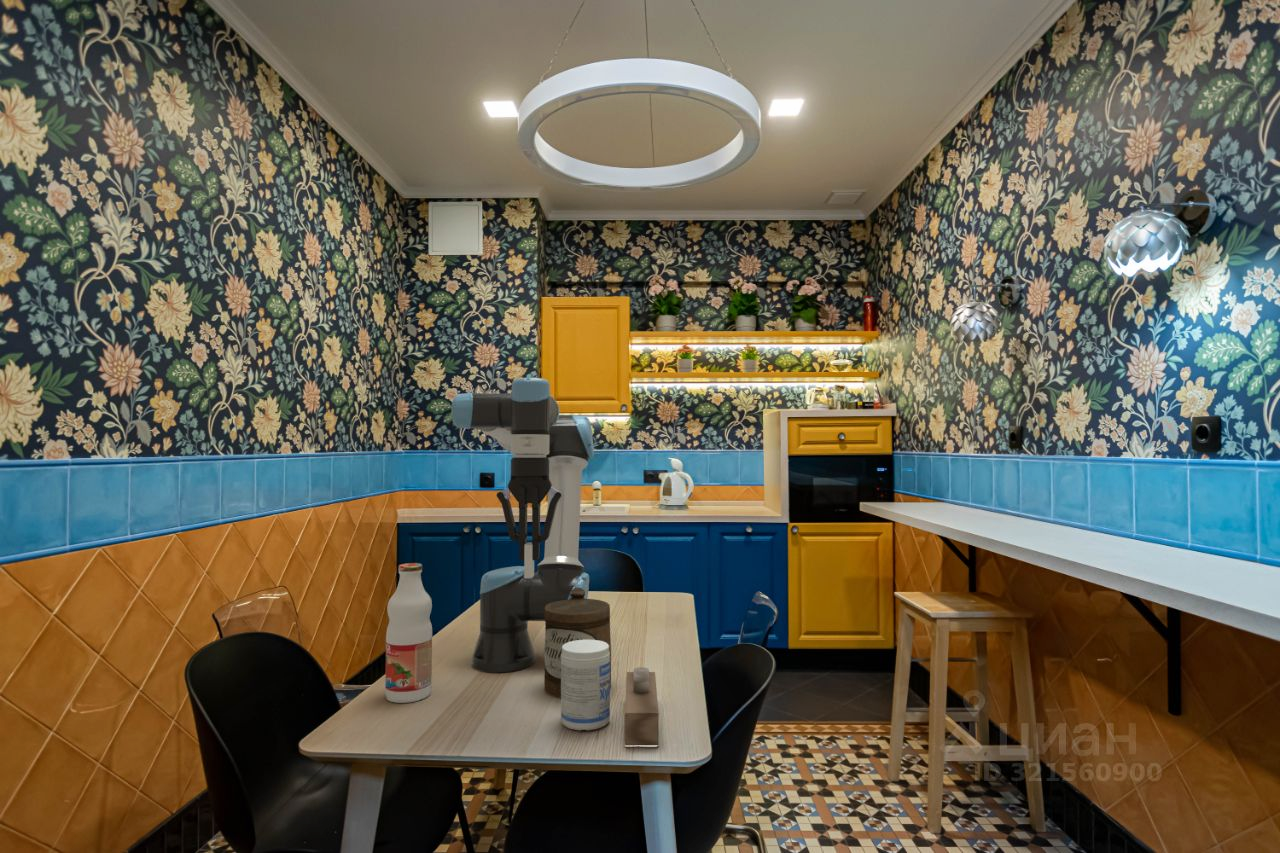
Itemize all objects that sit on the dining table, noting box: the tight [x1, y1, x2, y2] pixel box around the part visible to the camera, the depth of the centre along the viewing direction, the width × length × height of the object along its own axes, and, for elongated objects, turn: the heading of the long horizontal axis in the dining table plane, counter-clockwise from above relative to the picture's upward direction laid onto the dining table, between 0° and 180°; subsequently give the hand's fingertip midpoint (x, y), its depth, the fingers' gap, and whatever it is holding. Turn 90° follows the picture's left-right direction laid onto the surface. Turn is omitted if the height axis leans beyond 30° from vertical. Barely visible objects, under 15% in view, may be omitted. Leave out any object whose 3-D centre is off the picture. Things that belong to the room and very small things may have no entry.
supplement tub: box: [560, 640, 611, 731], centre depth 127 cm, size 10×10×15 cm
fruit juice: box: [384, 562, 433, 704], centre depth 142 cm, size 9×9×28 cm
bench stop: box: [624, 666, 660, 746], centre depth 127 cm, size 6×22×10 cm, turn 0°
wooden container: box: [543, 588, 612, 698], centre depth 147 cm, size 15×15×22 cm
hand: (529, 576), depth 128 cm, fingers closed
